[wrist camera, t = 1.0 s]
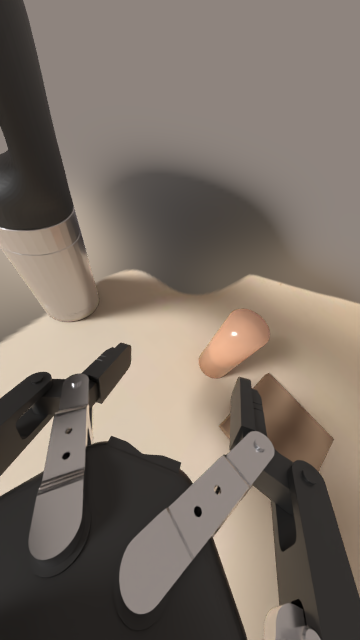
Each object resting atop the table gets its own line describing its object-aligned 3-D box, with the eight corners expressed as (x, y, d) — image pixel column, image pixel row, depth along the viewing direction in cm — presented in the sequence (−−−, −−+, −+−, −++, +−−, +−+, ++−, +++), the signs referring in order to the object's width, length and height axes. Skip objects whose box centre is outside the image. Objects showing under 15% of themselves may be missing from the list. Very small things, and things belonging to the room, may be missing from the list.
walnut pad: (218, 426, 28) (221, 425, 27) (265, 374, 34) (268, 372, 33) (289, 515, 24) (295, 519, 23) (327, 439, 30) (333, 439, 29)
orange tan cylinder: (192, 359, 33) (218, 321, 22) (213, 343, 36) (245, 302, 25) (213, 385, 31) (253, 356, 21) (233, 366, 34) (277, 332, 23)
